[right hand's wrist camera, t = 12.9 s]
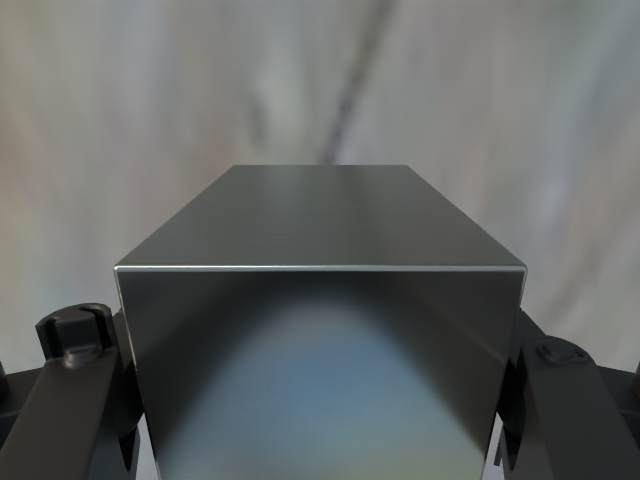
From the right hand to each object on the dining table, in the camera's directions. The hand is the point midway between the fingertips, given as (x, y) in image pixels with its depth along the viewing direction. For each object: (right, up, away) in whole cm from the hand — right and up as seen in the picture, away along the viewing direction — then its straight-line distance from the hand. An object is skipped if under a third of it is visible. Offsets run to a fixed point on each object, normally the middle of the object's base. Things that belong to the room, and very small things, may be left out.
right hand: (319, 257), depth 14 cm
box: (0, -9, +4) cm, 10 cm away
